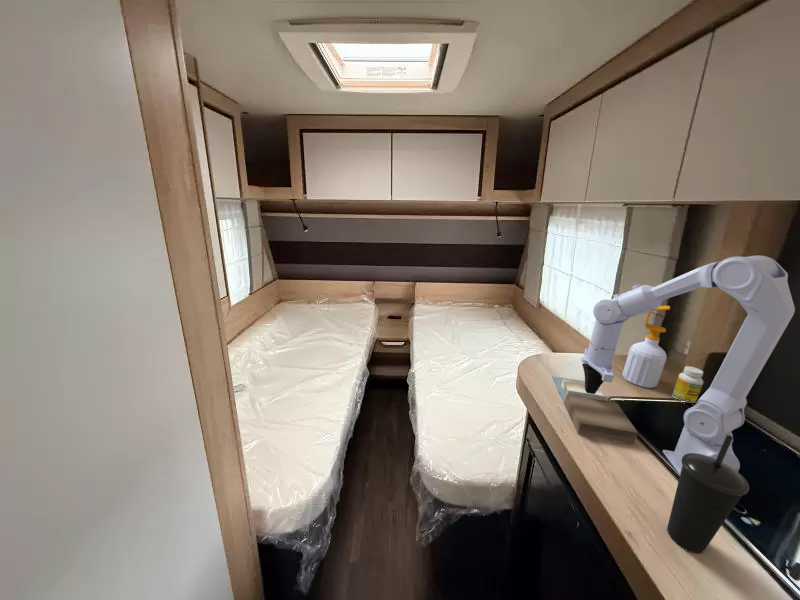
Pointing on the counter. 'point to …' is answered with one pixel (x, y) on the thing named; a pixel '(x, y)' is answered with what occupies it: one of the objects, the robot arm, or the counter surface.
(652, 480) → the counter surface
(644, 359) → the soap bottle
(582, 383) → the tile
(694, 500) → the drinking cup
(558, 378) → the mat
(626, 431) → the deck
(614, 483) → the counter surface
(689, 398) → the supplement bottle
